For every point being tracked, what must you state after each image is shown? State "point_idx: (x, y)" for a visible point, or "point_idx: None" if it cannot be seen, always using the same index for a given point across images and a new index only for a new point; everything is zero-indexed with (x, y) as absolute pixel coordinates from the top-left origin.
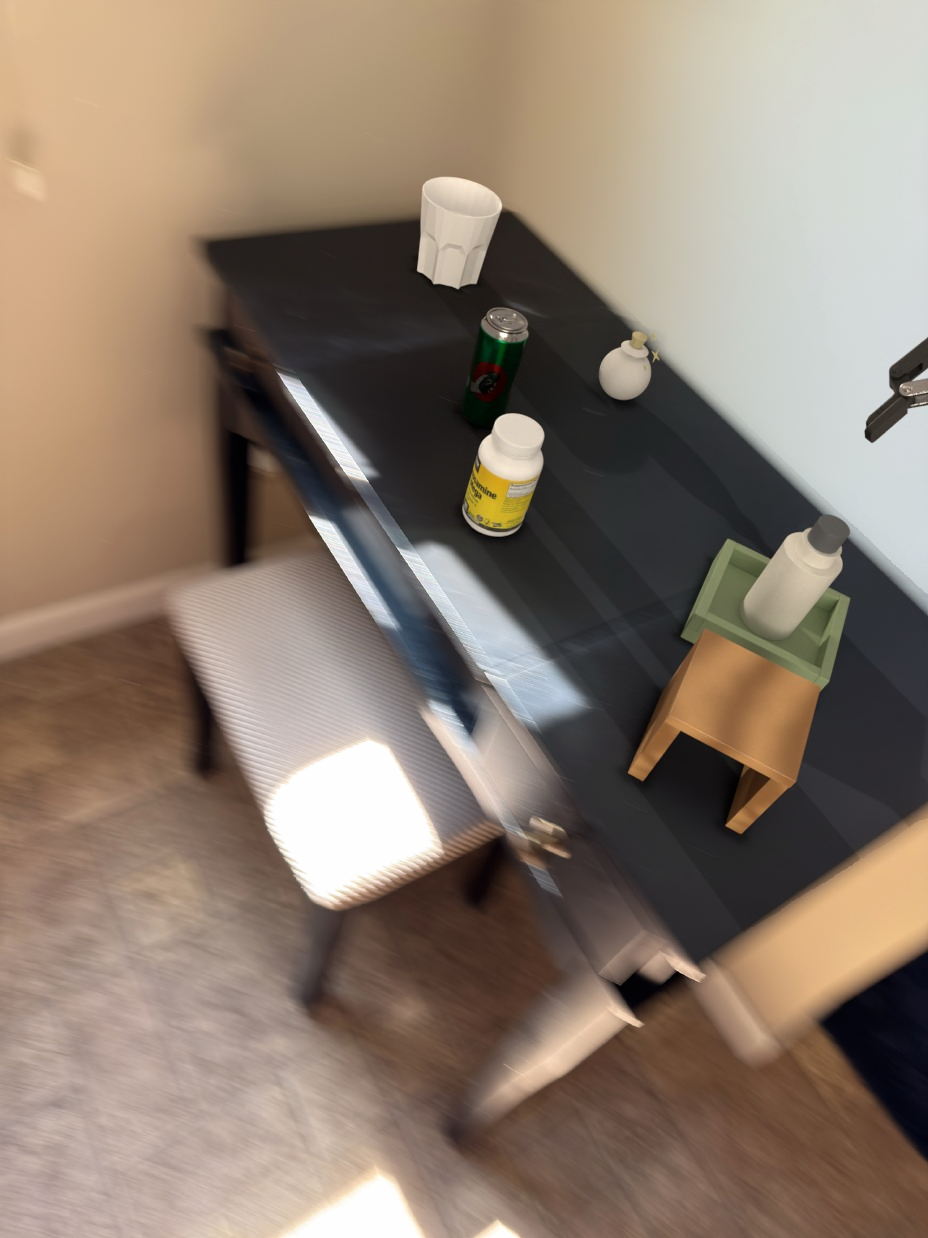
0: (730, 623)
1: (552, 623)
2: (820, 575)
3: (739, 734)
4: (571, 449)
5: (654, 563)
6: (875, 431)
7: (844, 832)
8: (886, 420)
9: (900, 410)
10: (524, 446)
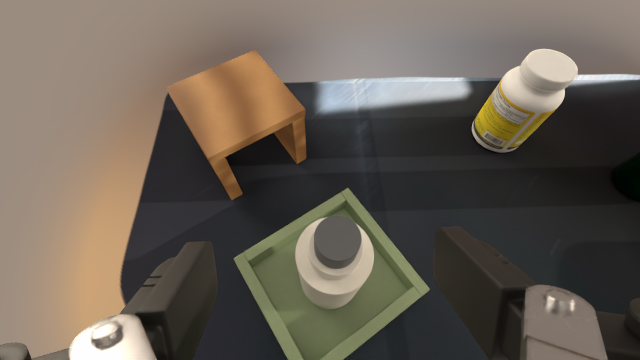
0: (327, 210)
1: (385, 124)
2: (303, 235)
3: (216, 76)
4: (592, 244)
5: (426, 231)
6: (441, 238)
7: (149, 207)
8: (458, 248)
9: (482, 288)
10: (527, 59)
